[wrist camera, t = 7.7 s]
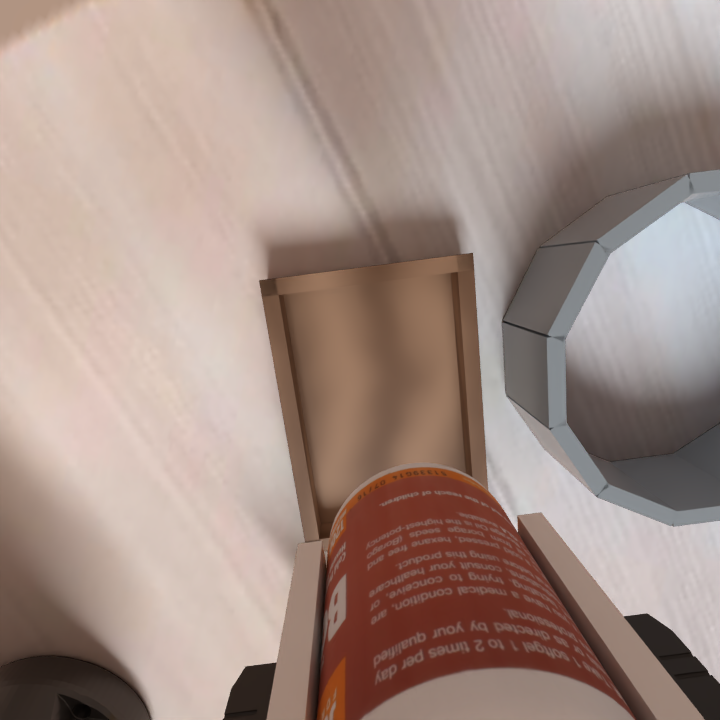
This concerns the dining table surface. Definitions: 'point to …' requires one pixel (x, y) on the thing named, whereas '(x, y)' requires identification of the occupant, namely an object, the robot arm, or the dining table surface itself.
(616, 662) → the robot arm
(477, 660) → the pill bottle
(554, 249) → the grey ringed piece
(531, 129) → the dining table surface
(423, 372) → the tray
